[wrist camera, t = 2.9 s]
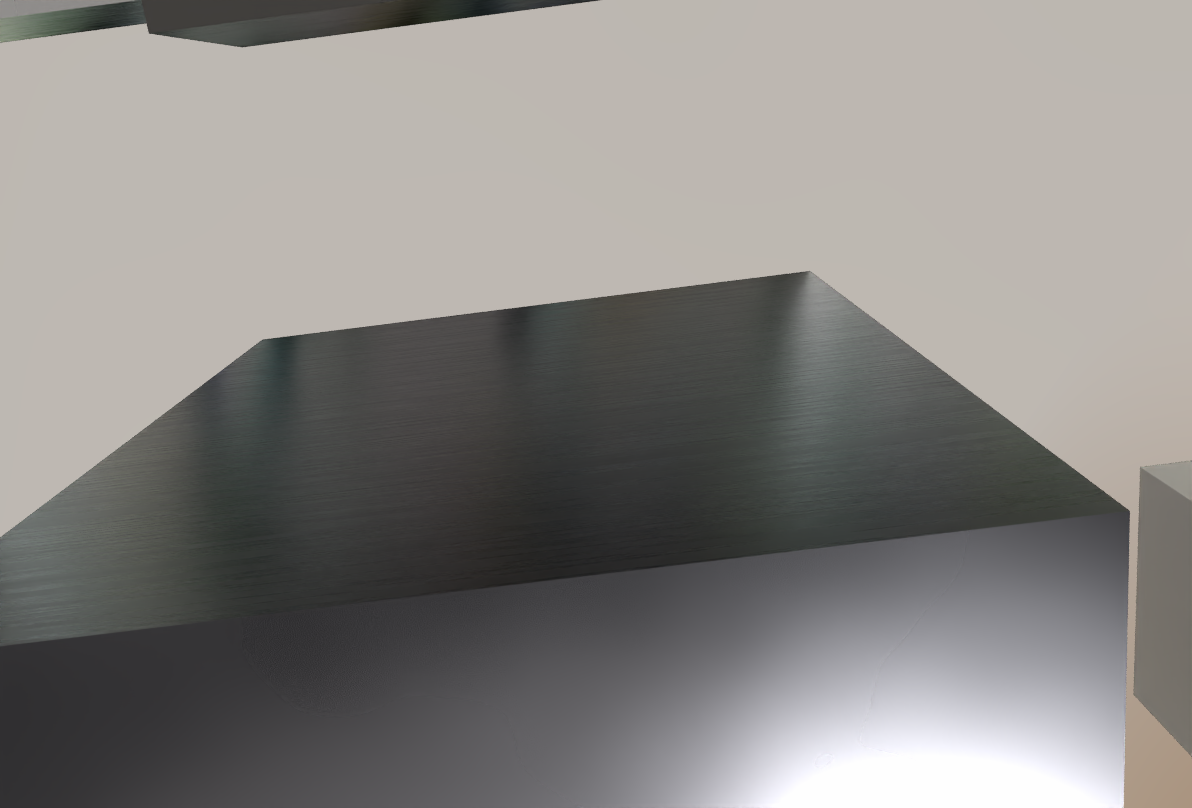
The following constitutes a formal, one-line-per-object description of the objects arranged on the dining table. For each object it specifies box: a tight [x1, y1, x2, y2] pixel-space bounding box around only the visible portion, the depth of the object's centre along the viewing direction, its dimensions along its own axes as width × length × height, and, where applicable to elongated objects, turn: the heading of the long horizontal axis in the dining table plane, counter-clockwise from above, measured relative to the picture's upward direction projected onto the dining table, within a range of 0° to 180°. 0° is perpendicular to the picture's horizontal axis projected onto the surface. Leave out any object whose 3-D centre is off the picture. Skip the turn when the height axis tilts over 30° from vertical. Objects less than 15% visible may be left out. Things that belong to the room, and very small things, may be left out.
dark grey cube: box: [0, 271, 1130, 808], centre depth 10 cm, size 7×7×8 cm
